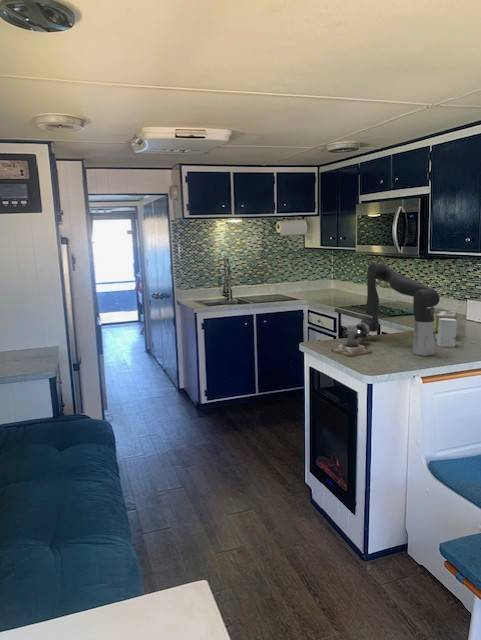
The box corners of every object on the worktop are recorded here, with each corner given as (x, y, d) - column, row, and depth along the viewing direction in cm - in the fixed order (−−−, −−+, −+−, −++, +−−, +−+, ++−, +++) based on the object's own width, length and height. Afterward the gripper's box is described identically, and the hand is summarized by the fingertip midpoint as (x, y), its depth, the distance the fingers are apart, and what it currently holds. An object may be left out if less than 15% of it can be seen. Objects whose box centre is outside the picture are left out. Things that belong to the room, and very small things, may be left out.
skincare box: (439, 346, 258) (441, 320, 255) (436, 344, 264) (438, 317, 261) (455, 347, 257) (457, 320, 254) (452, 344, 263) (454, 318, 260)
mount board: (372, 353, 248) (372, 346, 247) (350, 357, 241) (350, 350, 240) (352, 347, 261) (353, 341, 260) (331, 350, 254) (331, 344, 253)
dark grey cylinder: (358, 348, 250) (358, 326, 247) (351, 350, 247) (351, 327, 245) (352, 347, 254) (352, 325, 252) (344, 348, 252) (345, 326, 249)
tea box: (438, 334, 288) (440, 310, 285) (456, 336, 283) (458, 311, 280) (434, 339, 275) (436, 314, 272) (453, 341, 270) (455, 315, 267)
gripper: (348, 322, 264) (337, 328, 250) (373, 324, 257) (363, 330, 243) (347, 335, 266) (336, 342, 252) (373, 338, 258) (363, 345, 244)
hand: (350, 336), depth 247 cm, fingers closed on dark grey cylinder, 5 cm apart
